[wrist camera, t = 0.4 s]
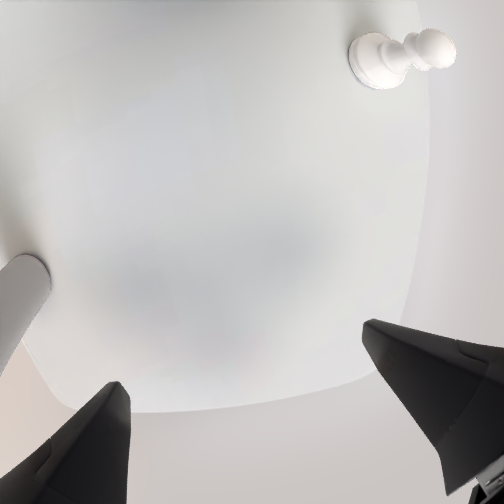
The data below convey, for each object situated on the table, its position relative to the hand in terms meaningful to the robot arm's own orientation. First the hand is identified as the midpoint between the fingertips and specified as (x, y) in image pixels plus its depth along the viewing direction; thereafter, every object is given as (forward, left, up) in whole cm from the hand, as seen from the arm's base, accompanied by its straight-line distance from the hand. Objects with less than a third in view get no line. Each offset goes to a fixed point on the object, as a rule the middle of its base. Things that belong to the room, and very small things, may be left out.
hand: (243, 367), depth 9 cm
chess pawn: (-13, +14, -14) cm, 24 cm away
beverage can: (+1, -17, -14) cm, 22 cm away
